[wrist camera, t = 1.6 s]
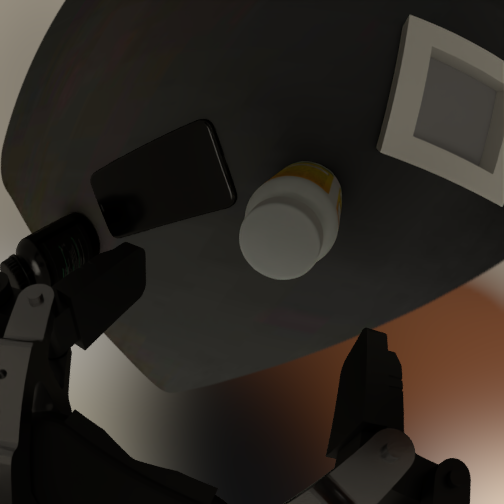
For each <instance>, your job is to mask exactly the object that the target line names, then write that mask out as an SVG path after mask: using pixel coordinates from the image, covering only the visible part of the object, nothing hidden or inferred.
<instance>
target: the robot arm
mask: <svg viewBox="0 0 504 504" xmlns="http://www.w3.org/2000/svg"><path fill="white" fill-rule="evenodd" d="M145 286H146V258H145V250H144V249H143V248H140V247H138V246H135V245H133V244H130V243H128V242H124V243H122V244H121V245H119V246H118V247H116V248H115V249H113V250H110V251H106V252H103V253H100V254H98V255H96V256H95V257H93V258H92V259H90V260H89V261H88V262H86V263H84V264H83V265H81V267H80V268H77V269H76V270H74V271H73V272H71V273H70V274H68V275H67V276H66V277H64V278H63V279H61V280H60V281H58V282H57V283H56V284H54V285H53V286H51V287H50V286H48V285H45V284H34V285H31V286H28V287H26V288H25V289H24V290H20V289H17V288H14V287H11V284H10V281H9V278H8V275H7V274H6V273H4V272H0V504H228V503H226V502H225V501H224V500H223V499H221V498H220V497H218V496H217V495H215V493H216V491H217V489H218V488H216V487H213V486H211V485H208V484H206V483H203V482H201V481H198V480H196V479H194V478H191V477H189V476H187V475H185V474H182V473H180V472H178V471H174V470H170V469H165V468H162V467H158V466H154V465H151V464H147V463H144V462H140V461H137V460H135V459H133V458H131V457H130V456H129V455H128V454H127V453H126V452H125V451H124V450H123V449H122V448H121V447H120V446H119V445H118V444H117V443H116V442H115V441H114V440H113V439H112V438H111V437H110V436H109V435H108V434H107V433H106V432H105V430H103V429H102V428H100V427H99V426H97V425H96V424H95V423H93V422H92V421H90V420H89V419H87V418H86V417H85V416H83V415H82V414H80V413H79V412H78V411H77V410H74V411H73V412H72V411H71V406H70V402H69V396H68V390H69V376H70V365H71V364H70V363H71V355H72V351H71V347H72V346H73V345H74V344H76V345H78V346H79V347H81V348H82V349H84V350H86V349H87V348H88V347H89V346H90V345H91V344H92V343H93V342H94V341H95V340H96V339H97V338H98V337H99V336H100V335H101V334H103V333H104V332H105V331H106V330H107V329H108V328H109V327H110V326H111V325H112V324H113V323H114V322H115V321H116V320H117V319H118V318H119V317H120V316H121V315H122V314H123V313H124V312H125V311H127V310H128V309H129V308H130V307H131V306H132V305H133V304H134V303H135V302H136V301H137V300H138V299H139V298H140V297H141V296H142V294H143V292H144V290H145ZM401 380H402V368H401V364H400V362H399V359H398V357H397V355H396V353H395V352H391V351H388V345H387V335H386V334H385V333H382V332H378V331H376V330H372V329H369V328H364V329H363V330H362V332H361V334H360V335H359V337H358V340H357V341H356V342H355V344H354V346H353V348H352V349H351V351H350V353H349V354H348V356H347V358H346V360H345V362H344V364H343V367H342V370H341V374H340V381H339V388H338V394H337V401H336V406H335V412H334V418H333V423H332V429H331V434H330V439H329V444H328V449H327V453H326V457H330V458H335V459H336V463H335V468H334V469H333V470H331V471H330V472H329V473H327V474H326V475H325V476H323V477H322V478H321V479H319V480H318V481H316V482H315V483H314V484H312V485H311V486H309V487H308V488H307V489H306V490H304V491H302V492H301V493H299V494H298V495H296V496H295V497H293V498H292V499H290V500H289V501H287V502H285V503H284V504H470V481H471V479H470V473H469V470H468V468H467V466H466V465H465V464H464V463H463V462H462V461H460V460H458V459H455V458H450V459H446V460H444V461H443V462H441V463H440V464H436V463H434V462H431V461H429V460H427V459H425V458H423V457H421V456H419V455H417V454H416V453H415V448H414V445H413V443H412V441H411V440H410V438H409V437H408V436H407V435H406V434H405V433H404V412H403V411H404V408H403V391H402V389H403V383H402V381H401Z"/></svg>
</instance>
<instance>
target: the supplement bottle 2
mask: <svg viewBox="0 0 504 504" xmlns="http://www.w3.org/2000/svg"><path fill="white" fill-rule="evenodd" d="M341 207H342V190H341V186H340V184H339V182H338V180H337V178H336V177H335V175H334V174H333V173H332V172H331V171H330V170H329V169H327V168H326V167H324V166H322V165H320V164H317V163H314V162H309V161H301V162H296V163H293V164H291V165H289V166H287V167H285V168H284V169H283V170H281V171H280V172H278V173H277V174H276V175H274V176H273V177H272V178H271V179H269V180H268V181H267V182H265V183H264V184H262V185H261V186H260V187H259V188H258V189H257V190H256V191H255V192H254V193H253V195H252V196H251V198H250V200H249V202H248V205H247V207H246V212H245V219H244V221H243V223H242V225H241V228H240V232H239V243H240V247H241V251H242V253H243V255H244V257H245V259H246V260H247V262H248V263H249V264H250V265H251V266H252V267H253V268H254V269H255V270H256V271H258V272H259V273H261V274H263V275H265V276H267V277H270V278H273V279H279V280H288V279H293V278H297V277H299V276H302V275H303V274H305V273H306V272H308V271H309V270H310V269H311V268H312V267H313V265H314V264H315V263H316V262H317V261H318V260H320V259H321V258H323V257H324V256H325V255H326V254H327V253H328V252H329V250H330V249H331V248H332V246H333V244H334V242H335V240H336V237H337V233H338V228H339V221H340V214H341Z"/></svg>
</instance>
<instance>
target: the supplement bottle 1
mask: <svg viewBox="0 0 504 504" xmlns="http://www.w3.org/2000/svg"><path fill="white" fill-rule="evenodd" d="M98 252H99V242H98V238H97V234H96V232H95V230H94V228H93V226H92V225H91V223H90V222H89V221H88V220H87V219H86V218H85V217H84V216H82V215H80V214H78V213H71V214H69V215H67V216H64V217H62V218H60V219H58V220H56V221H55V222H53V223H51V224H49V225H47V226H45V227H43V228H41V229H39V230H38V231H36V232H34V233H32V234H30V235H29V236H27V237H25V238H23V239H22V240H21V241H20V242H19V244H18V246H17V249H16V255H15V254H13V255H11V256H10V257H9V258H8V259H6V260H5V261H3V262H2V263H1V264H0V270H1V272H4V273H6V274H7V275H8V278H9V281H10V284H11V287H14V288H17V289H20V290H24V289H25V288H26V287H28V286H31V285H34V284H45V285H48V286H50V287H51V286H53V285H54V284H56V283H57V282H58V281H60V280H61V279H63V278H64V277H66V276H67V275H68V274H70V273H71V272H73V271H74V270H76V269H77V268H80V267H81V265H83V264H84V263H86V262H88V261H89V260H90V259H92V258H93V257H95V256H96V255H98Z"/></svg>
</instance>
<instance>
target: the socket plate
mask: <svg viewBox="0 0 504 504" xmlns="http://www.w3.org/2000/svg"><path fill="white" fill-rule="evenodd" d="M376 148H377V149H378V151H379V152H380V153H383V154H386V155H389V156H392V157H394V158H397V159H400V160H402V161H405V162H407V163H410V164H412V165H415V166H417V167H420V168H422V169H425V170H427V171H429V172H432V173H434V174H436V175H439V176H441V177H443V178H445V179H448V180H450V181H452V182H454V183H456V184H458V185H461V186H463V187H465V188H467V189H469V190H471V191H473V192H475V193H477V194H479V195H481V196H483V197H485V198H486V199H488V200H490V201H492V202H494V203H496V204H498V205H499V206H501V207H503V204H504V61H503V60H501V59H500V58H498V57H497V56H495V55H493V54H492V53H490V52H488V51H487V50H485V49H483V48H481V47H480V46H478V45H476V44H474V43H472V42H470V41H468V40H466V39H465V38H463V37H461V36H459V35H457V34H454V33H452V32H450V31H448V30H446V29H444V28H442V27H439V26H437V25H435V24H432V23H430V22H427V21H425V20H422V19H420V18H417V17H415V16H412V15H409V17H408V18H407V20H406V22H405V24H404V25H403V27H402V33H401V39H400V45H399V51H398V56H397V61H396V67H395V72H394V76H393V81H392V86H391V90H390V95H389V99H388V103H387V107H386V112H385V116H384V120H383V124H382V127H381V131H380V135H379V139H378V142H377V146H376Z"/></svg>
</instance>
